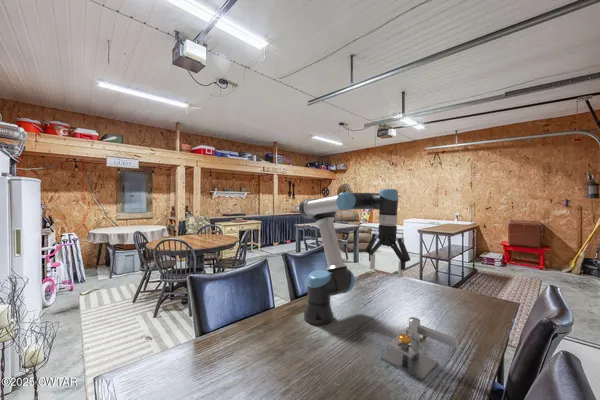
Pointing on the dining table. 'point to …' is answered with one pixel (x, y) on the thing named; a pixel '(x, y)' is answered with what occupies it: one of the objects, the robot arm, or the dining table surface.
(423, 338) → the pipe fitting
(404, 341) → the gold knobbed rod
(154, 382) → the dining table surface
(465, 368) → the dining table surface
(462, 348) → the dining table surface
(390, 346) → the grey lever mechanism
